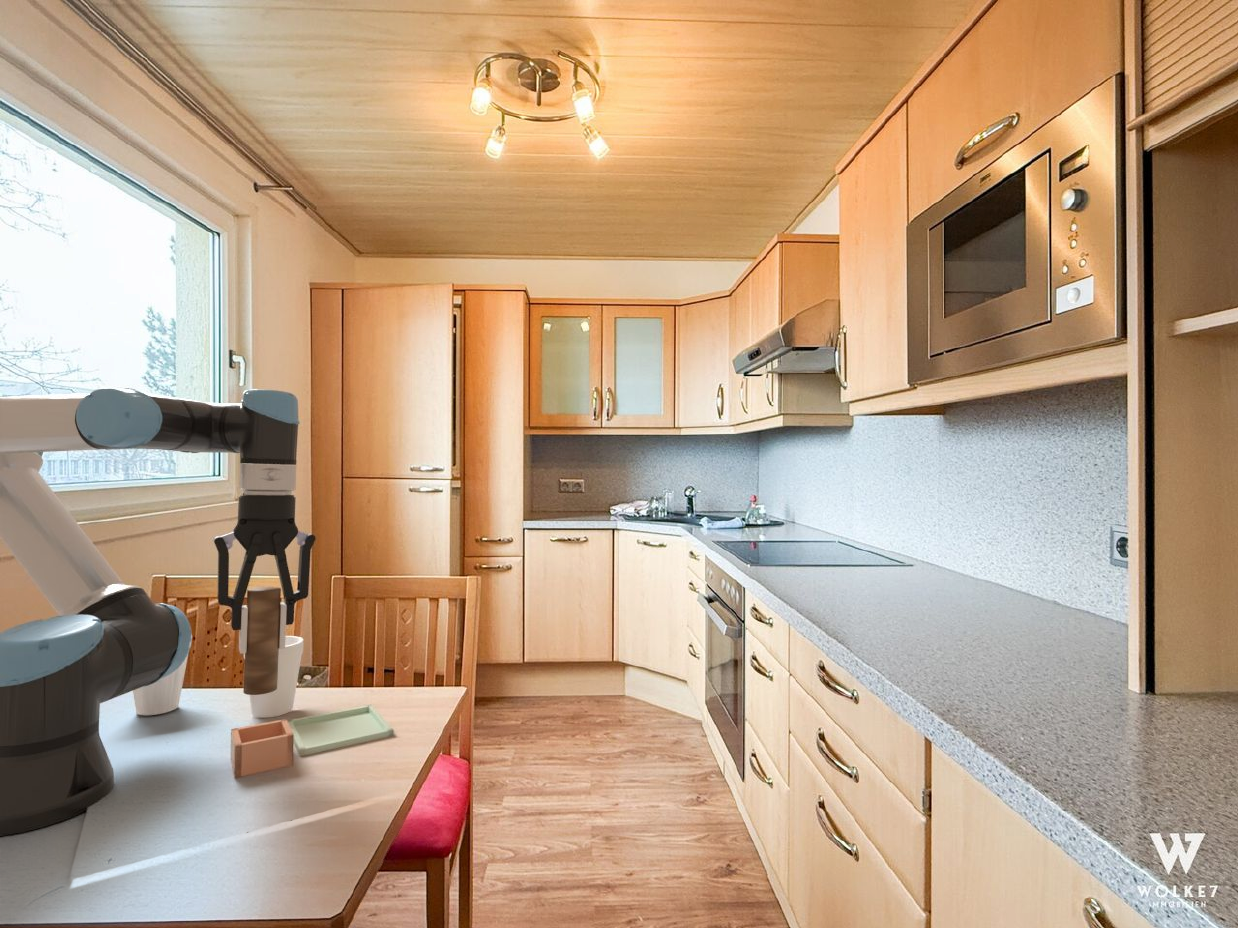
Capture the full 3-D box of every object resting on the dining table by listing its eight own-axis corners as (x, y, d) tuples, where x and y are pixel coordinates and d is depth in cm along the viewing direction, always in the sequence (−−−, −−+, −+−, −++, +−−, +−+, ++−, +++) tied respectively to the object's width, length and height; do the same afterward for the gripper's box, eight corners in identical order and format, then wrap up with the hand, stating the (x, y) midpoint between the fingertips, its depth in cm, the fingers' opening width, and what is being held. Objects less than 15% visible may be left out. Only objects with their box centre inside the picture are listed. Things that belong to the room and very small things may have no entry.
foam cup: (275, 726, 109) (277, 650, 109) (229, 721, 111) (231, 647, 111) (312, 707, 118) (314, 637, 118) (269, 703, 120) (271, 634, 120)
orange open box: (234, 782, 89) (235, 746, 89) (230, 762, 95) (231, 729, 95) (292, 768, 93) (293, 734, 93) (285, 750, 99) (286, 718, 99)
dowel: (244, 696, 91) (248, 592, 92) (242, 688, 95) (245, 588, 95) (279, 691, 94) (282, 590, 94) (275, 683, 98) (278, 585, 98)
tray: (299, 759, 96) (299, 749, 96) (286, 729, 108) (286, 720, 108) (393, 738, 104) (393, 729, 104) (371, 712, 116) (371, 704, 116)
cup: (164, 722, 110) (167, 646, 110) (108, 721, 110) (110, 645, 111) (203, 701, 120) (205, 632, 120) (151, 700, 120) (153, 631, 121)
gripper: (199, 493, 87) (192, 664, 87) (335, 494, 97) (329, 646, 97) (197, 491, 93) (191, 650, 93) (325, 492, 103) (320, 636, 103)
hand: (262, 648), depth 95 cm, fingers closed on dowel, 4 cm apart
